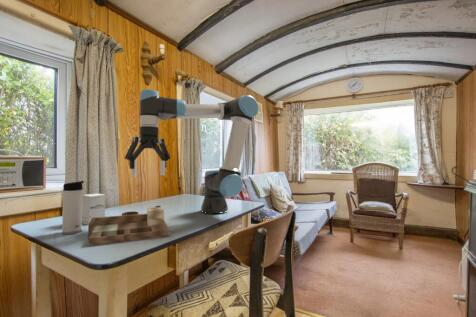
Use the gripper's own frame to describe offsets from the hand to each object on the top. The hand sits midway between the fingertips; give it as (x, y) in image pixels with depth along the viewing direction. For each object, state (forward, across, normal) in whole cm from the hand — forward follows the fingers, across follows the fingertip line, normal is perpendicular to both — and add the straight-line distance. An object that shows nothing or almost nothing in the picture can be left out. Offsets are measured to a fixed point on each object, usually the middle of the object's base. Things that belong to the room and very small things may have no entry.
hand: (149, 176), depth 101 cm
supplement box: (+22, +12, -26) cm, 36 cm away
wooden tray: (+22, +10, +4) cm, 24 cm away
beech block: (+19, 0, +5) cm, 20 cm away
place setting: (+23, -2, -11) cm, 25 cm away
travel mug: (+22, +23, -16) cm, 35 cm away
